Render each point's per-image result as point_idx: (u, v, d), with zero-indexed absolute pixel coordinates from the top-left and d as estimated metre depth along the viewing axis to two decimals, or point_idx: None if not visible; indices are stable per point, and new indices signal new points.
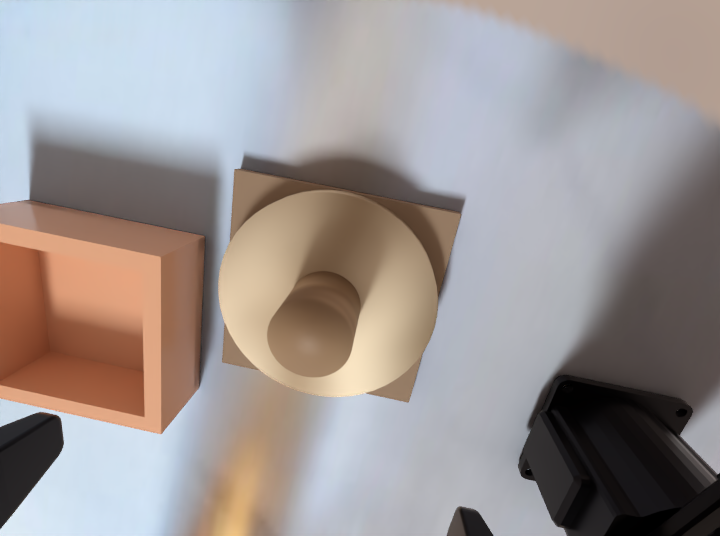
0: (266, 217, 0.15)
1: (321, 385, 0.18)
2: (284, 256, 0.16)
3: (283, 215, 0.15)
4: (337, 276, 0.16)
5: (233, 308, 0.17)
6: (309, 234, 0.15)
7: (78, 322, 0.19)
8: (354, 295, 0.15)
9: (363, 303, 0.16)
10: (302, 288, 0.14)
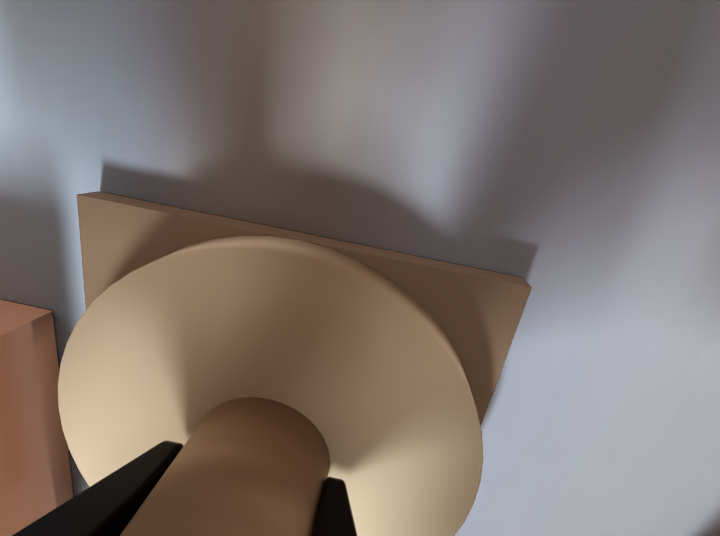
0: (131, 295, 0.07)
1: None
2: (175, 367, 0.08)
3: (164, 292, 0.07)
4: (281, 413, 0.08)
5: (93, 452, 0.09)
6: (221, 329, 0.07)
7: None
8: (313, 454, 0.07)
9: (334, 455, 0.08)
10: (187, 470, 0.06)
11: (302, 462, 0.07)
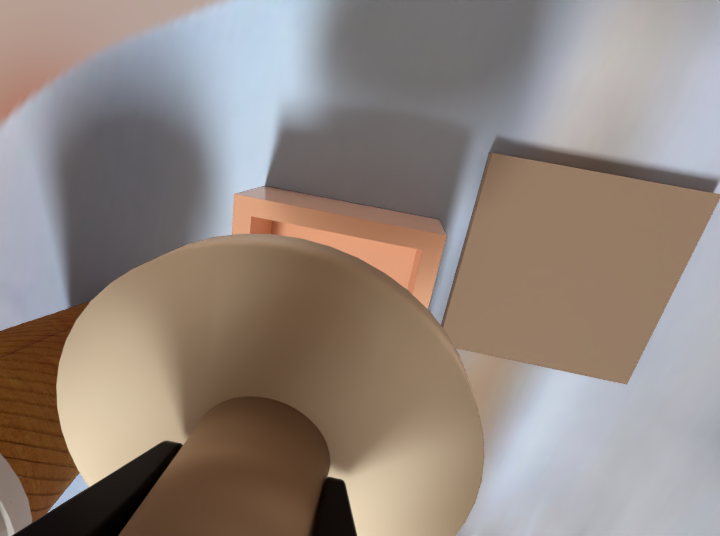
0: (130, 293, 0.07)
1: None
2: (175, 366, 0.08)
3: (164, 290, 0.07)
4: (281, 412, 0.08)
5: (92, 452, 0.09)
6: (221, 328, 0.07)
7: None
8: (313, 454, 0.07)
9: (334, 454, 0.08)
10: (186, 470, 0.06)
11: (302, 461, 0.07)
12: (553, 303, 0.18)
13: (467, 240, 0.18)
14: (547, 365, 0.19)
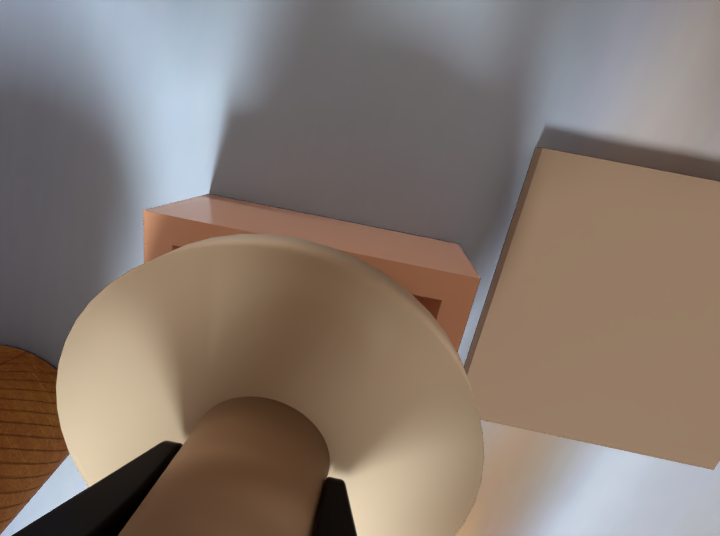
0: (130, 293, 0.07)
1: None
2: (174, 366, 0.08)
3: (163, 291, 0.07)
4: (280, 412, 0.08)
5: (91, 452, 0.09)
6: (220, 328, 0.07)
7: None
8: (313, 454, 0.07)
9: (334, 455, 0.08)
10: (186, 470, 0.06)
11: (302, 462, 0.07)
12: (619, 363, 0.13)
13: (500, 274, 0.12)
14: (604, 443, 0.14)
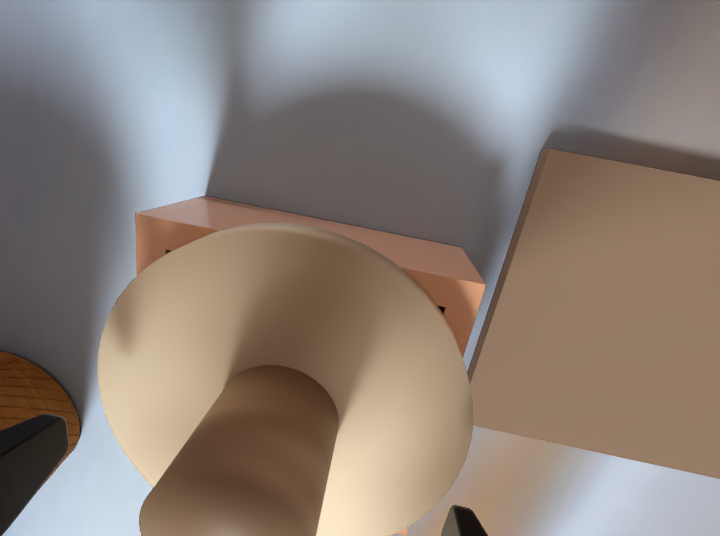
0: (166, 274, 0.09)
1: None
2: (203, 338, 0.09)
3: (196, 271, 0.08)
4: (296, 377, 0.09)
5: (127, 417, 0.10)
6: (245, 304, 0.09)
7: None
8: (324, 413, 0.09)
9: (342, 417, 0.09)
10: (220, 420, 0.07)
11: (316, 417, 0.08)
12: (627, 370, 0.12)
13: (504, 279, 0.12)
14: (612, 452, 0.14)
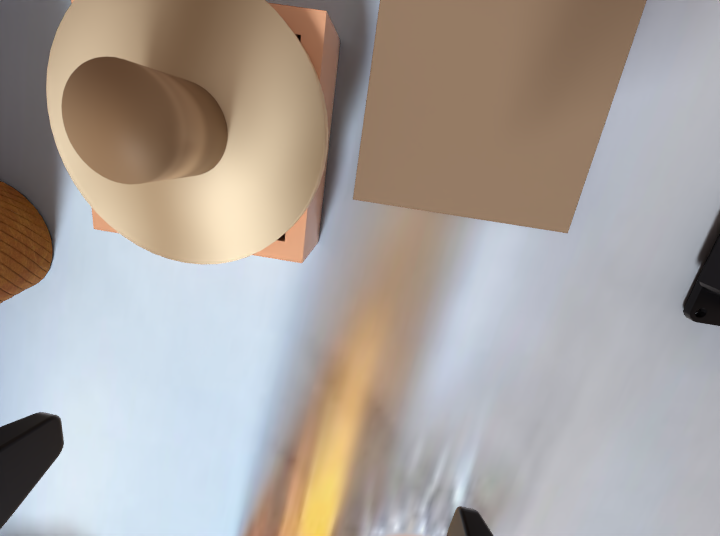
0: (89, 3, 0.12)
1: (196, 248, 0.14)
2: None
3: None
4: (189, 80, 0.12)
5: (72, 145, 0.13)
6: (147, 24, 0.12)
7: None
8: (208, 100, 0.12)
9: (229, 122, 0.13)
10: None
11: (198, 94, 0.11)
12: (477, 134, 0.16)
13: (372, 59, 0.15)
14: (477, 216, 0.17)
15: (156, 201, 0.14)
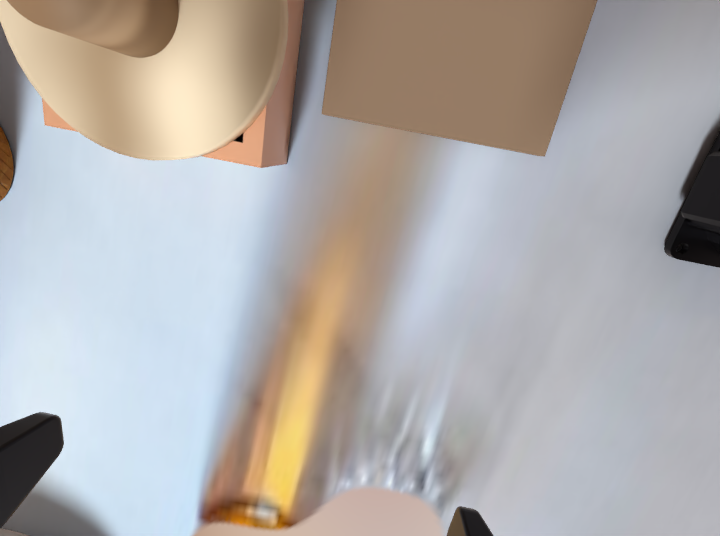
0: None
1: (147, 142, 0.13)
2: None
3: None
4: None
5: (16, 20, 0.13)
6: None
7: None
8: None
9: None
10: None
11: None
12: (451, 42, 0.15)
13: None
14: (450, 135, 0.16)
15: (105, 86, 0.13)
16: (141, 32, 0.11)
